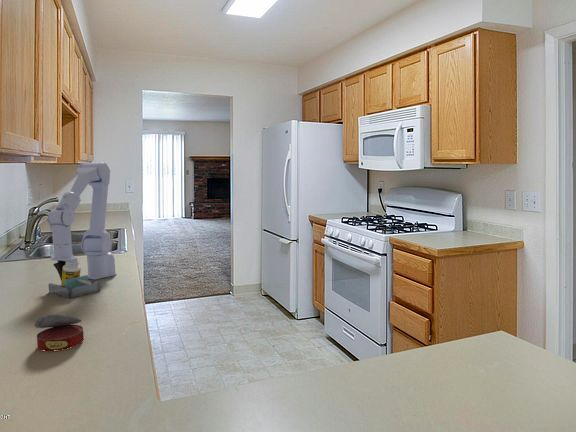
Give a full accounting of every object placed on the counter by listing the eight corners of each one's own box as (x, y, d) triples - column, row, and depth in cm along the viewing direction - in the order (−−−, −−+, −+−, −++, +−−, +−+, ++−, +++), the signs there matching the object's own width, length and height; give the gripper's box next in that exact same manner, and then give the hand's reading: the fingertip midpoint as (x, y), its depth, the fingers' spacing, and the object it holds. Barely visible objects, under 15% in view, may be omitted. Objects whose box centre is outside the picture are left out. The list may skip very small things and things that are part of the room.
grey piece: (79, 285, 160) (78, 277, 159) (100, 290, 152) (99, 282, 152) (49, 292, 151) (48, 283, 151) (69, 298, 143) (69, 289, 143)
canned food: (38, 368, 103) (16, 331, 103) (72, 347, 112) (53, 313, 112) (66, 353, 98) (44, 314, 98) (100, 332, 107) (80, 297, 107)
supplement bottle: (62, 292, 149) (64, 264, 147) (59, 284, 154) (62, 257, 151) (80, 291, 153) (82, 264, 150) (77, 283, 157) (79, 257, 154)
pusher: (87, 288, 154) (86, 274, 153) (101, 292, 149) (100, 278, 148) (65, 293, 148) (64, 279, 147) (79, 297, 142) (78, 283, 142)
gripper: (40, 243, 154) (43, 282, 156) (61, 247, 146) (64, 287, 147) (60, 240, 160) (63, 277, 161) (82, 244, 151) (85, 283, 153)
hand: (65, 282), depth 155 cm, fingers closed
